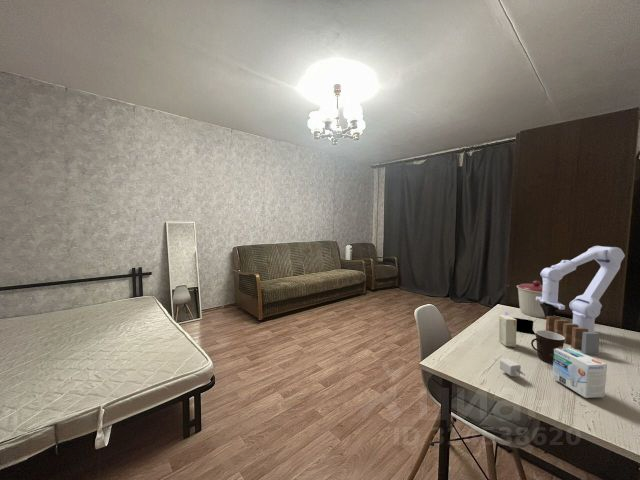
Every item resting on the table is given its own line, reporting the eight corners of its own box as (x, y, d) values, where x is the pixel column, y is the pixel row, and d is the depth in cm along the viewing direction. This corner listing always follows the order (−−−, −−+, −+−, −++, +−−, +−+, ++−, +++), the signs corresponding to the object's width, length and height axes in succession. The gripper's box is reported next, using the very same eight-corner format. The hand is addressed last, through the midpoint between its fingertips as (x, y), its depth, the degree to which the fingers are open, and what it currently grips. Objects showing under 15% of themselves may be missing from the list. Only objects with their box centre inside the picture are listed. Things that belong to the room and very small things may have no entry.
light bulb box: (551, 377, 87) (553, 347, 86) (568, 376, 87) (570, 347, 86) (586, 398, 76) (588, 365, 75) (605, 397, 77) (608, 364, 76)
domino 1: (545, 333, 121) (546, 315, 121) (556, 334, 121) (557, 316, 120) (548, 335, 120) (549, 317, 119) (559, 335, 119) (560, 317, 119)
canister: (553, 324, 133) (556, 286, 132) (512, 315, 147) (513, 280, 145) (557, 316, 145) (559, 281, 143) (518, 308, 158) (520, 276, 157)
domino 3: (562, 342, 112) (563, 323, 112) (573, 342, 112) (575, 323, 111) (565, 344, 111) (566, 324, 110) (577, 344, 110) (578, 325, 110)
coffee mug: (555, 355, 101) (557, 331, 100) (568, 366, 93) (570, 341, 92) (521, 350, 105) (522, 328, 104) (531, 361, 97) (532, 336, 96)
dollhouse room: (505, 330, 126) (506, 317, 125) (502, 322, 136) (502, 310, 136) (535, 335, 120) (536, 322, 119) (530, 326, 130) (530, 314, 130)
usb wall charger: (509, 368, 92) (509, 358, 92) (527, 380, 85) (527, 369, 85) (499, 369, 91) (500, 359, 91) (516, 381, 85) (517, 370, 84)
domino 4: (571, 347, 108) (572, 327, 107) (583, 347, 108) (584, 327, 107) (574, 348, 106) (575, 328, 106) (587, 349, 106) (588, 329, 106)
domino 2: (553, 337, 117) (554, 319, 116) (564, 338, 116) (565, 319, 116) (556, 339, 115) (557, 320, 115) (567, 339, 115) (569, 321, 114)
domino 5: (598, 354, 102) (599, 333, 101) (585, 354, 102) (586, 333, 101) (593, 352, 103) (595, 332, 103) (581, 352, 103) (582, 331, 103)
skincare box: (516, 347, 108) (517, 320, 107) (505, 346, 109) (506, 319, 108) (508, 340, 114) (509, 315, 113) (497, 339, 115) (499, 314, 114)
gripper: (530, 288, 129) (528, 313, 130) (554, 296, 115) (552, 324, 116) (544, 288, 129) (543, 313, 130) (570, 296, 114) (568, 324, 115)
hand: (548, 318), depth 123 cm, fingers closed
